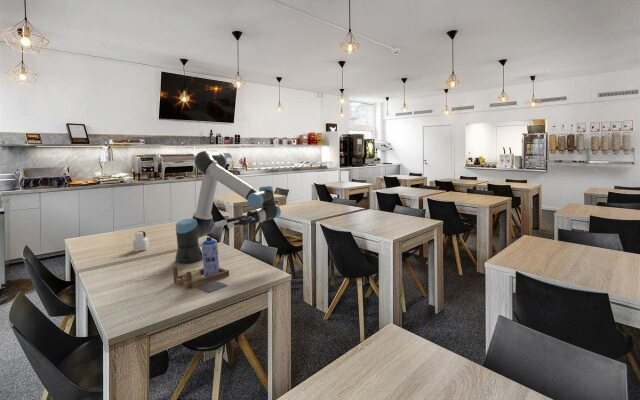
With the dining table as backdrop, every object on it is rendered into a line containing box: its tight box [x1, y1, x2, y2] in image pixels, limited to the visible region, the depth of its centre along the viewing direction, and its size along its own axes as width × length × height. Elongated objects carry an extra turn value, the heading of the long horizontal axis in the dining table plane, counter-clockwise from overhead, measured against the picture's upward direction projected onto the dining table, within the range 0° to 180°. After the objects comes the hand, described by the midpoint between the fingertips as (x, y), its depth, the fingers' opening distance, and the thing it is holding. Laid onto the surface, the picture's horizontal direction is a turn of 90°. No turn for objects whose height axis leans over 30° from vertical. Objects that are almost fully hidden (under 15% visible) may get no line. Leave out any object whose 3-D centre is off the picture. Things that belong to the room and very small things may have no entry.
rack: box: [172, 265, 230, 290], centre depth 172 cm, size 14×22×8 cm, turn 141°
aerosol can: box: [201, 237, 220, 278], centre depth 175 cm, size 8×8×20 cm
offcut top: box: [182, 268, 202, 279], centre depth 168 cm, size 6×5×2 cm
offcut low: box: [183, 275, 203, 282], centre depth 169 cm, size 7×6×3 cm
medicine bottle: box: [132, 230, 150, 252], centre depth 226 cm, size 7×7×12 cm
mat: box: [196, 280, 228, 294], centre depth 162 cm, size 10×10×1 cm
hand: (221, 225), depth 180 cm, fingers open, 13 cm apart
